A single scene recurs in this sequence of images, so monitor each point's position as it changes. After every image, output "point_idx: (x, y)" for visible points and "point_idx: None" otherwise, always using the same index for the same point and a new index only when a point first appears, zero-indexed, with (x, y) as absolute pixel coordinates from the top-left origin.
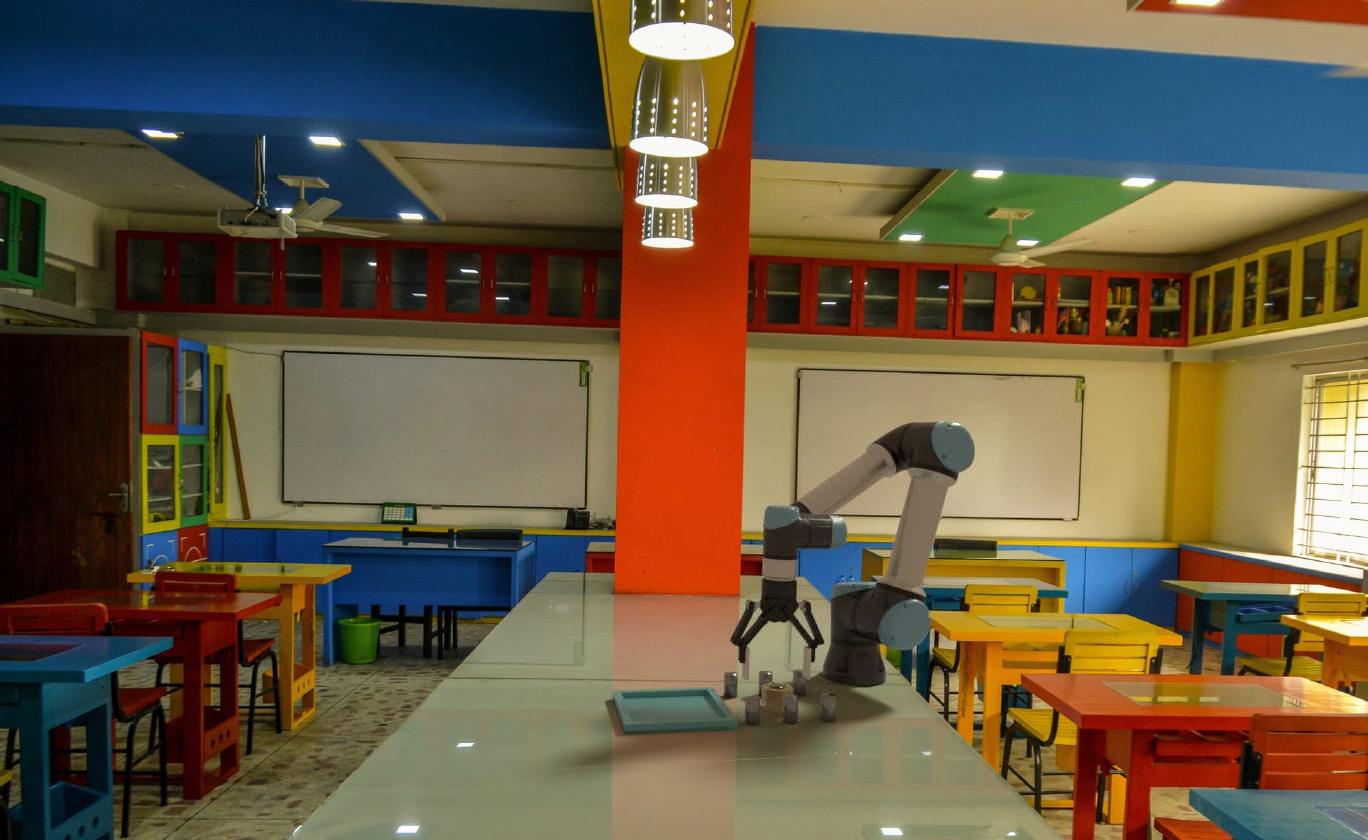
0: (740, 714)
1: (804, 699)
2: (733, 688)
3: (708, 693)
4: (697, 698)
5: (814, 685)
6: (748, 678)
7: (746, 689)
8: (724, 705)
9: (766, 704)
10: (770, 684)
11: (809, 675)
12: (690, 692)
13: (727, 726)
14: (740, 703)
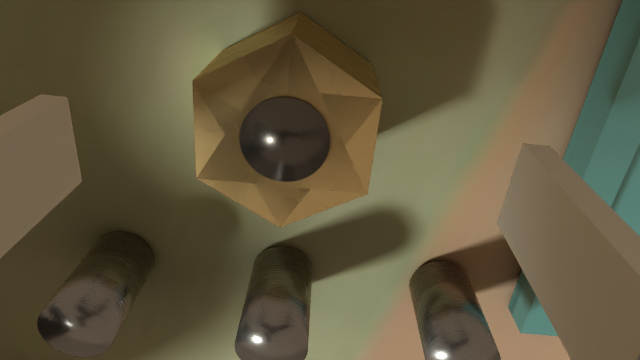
0: (520, 52)
1: (119, 193)
2: (449, 289)
3: None
4: None
5: (34, 337)
6: (529, 149)
7: (329, 346)
8: (638, 70)
9: (373, 71)
10: (311, 190)
11: (31, 104)
12: None
13: None
14: (435, 202)
